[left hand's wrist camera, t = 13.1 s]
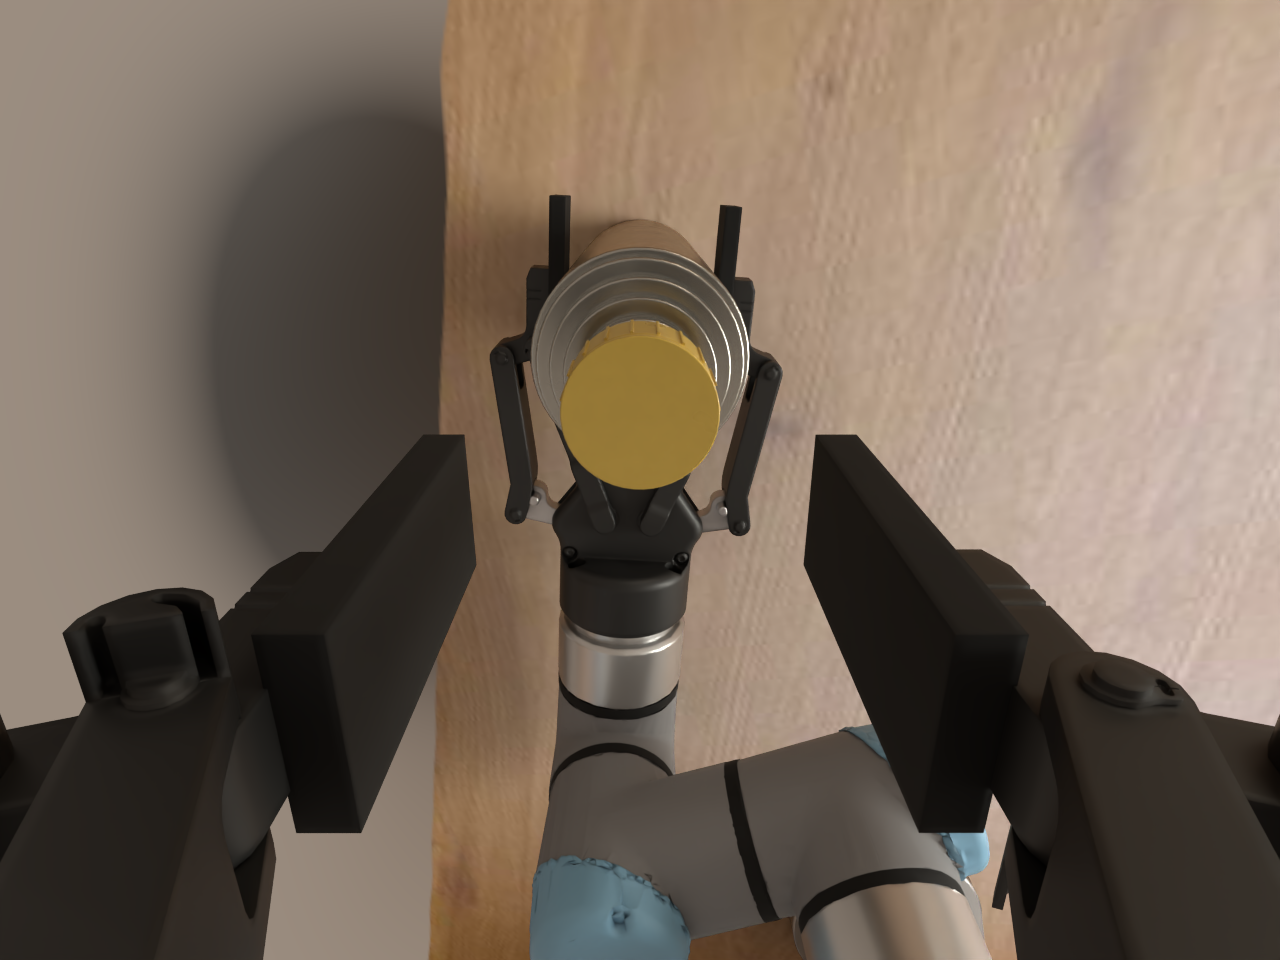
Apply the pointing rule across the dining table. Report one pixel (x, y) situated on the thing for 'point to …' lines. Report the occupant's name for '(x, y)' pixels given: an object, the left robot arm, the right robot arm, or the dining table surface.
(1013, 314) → the dining table surface
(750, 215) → the dining table surface
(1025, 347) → the dining table surface
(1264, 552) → the dining table surface
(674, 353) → the cap
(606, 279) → the bottle
